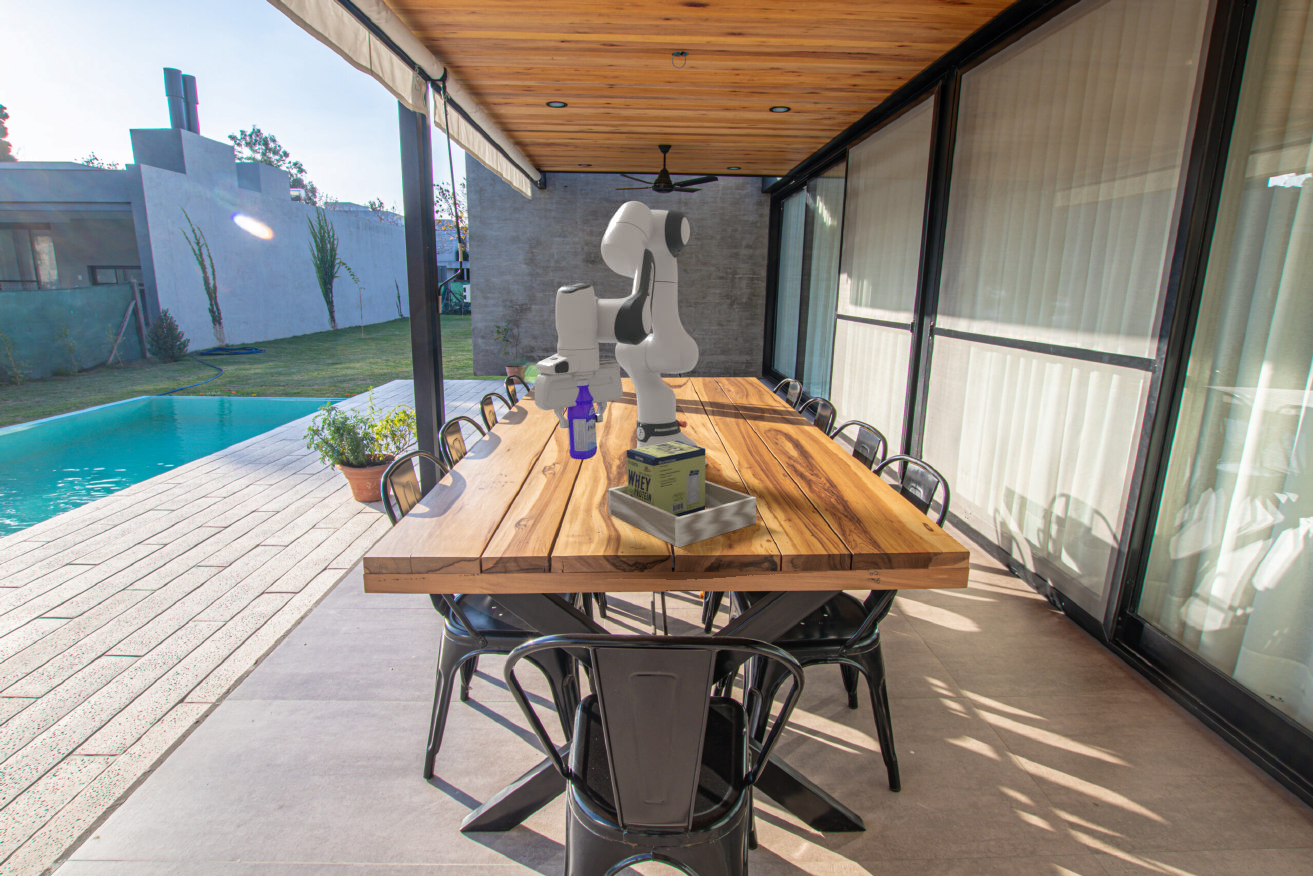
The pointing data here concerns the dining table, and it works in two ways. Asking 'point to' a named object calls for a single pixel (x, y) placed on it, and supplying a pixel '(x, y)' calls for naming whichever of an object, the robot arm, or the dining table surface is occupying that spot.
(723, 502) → the crate
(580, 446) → the bottle
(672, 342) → the robot arm
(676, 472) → the protein box
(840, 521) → the dining table surface
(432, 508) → the dining table surface
